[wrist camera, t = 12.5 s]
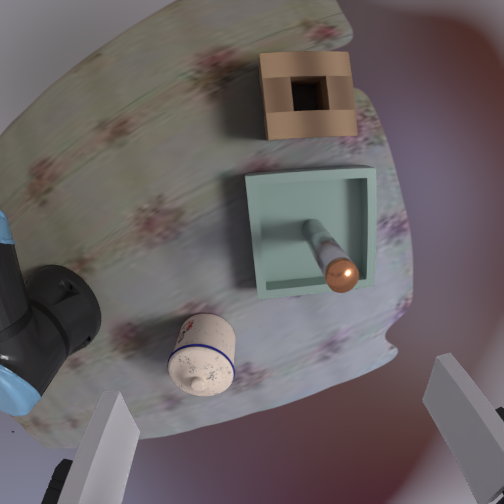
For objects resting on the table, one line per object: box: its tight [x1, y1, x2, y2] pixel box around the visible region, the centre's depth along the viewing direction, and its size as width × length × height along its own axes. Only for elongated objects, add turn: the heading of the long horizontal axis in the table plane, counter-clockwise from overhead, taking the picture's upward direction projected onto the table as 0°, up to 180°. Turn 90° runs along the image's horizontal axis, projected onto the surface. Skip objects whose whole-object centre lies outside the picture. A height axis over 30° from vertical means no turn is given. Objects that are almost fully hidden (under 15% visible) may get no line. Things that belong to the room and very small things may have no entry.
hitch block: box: [258, 51, 358, 140], centre depth 33 cm, size 10×10×6 cm
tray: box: [245, 165, 377, 299], centre depth 40 cm, size 16×16×4 cm
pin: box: [301, 219, 359, 293], centre depth 34 cm, size 3×3×15 cm
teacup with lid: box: [167, 314, 235, 396], centre depth 43 cm, size 12×9×12 cm
